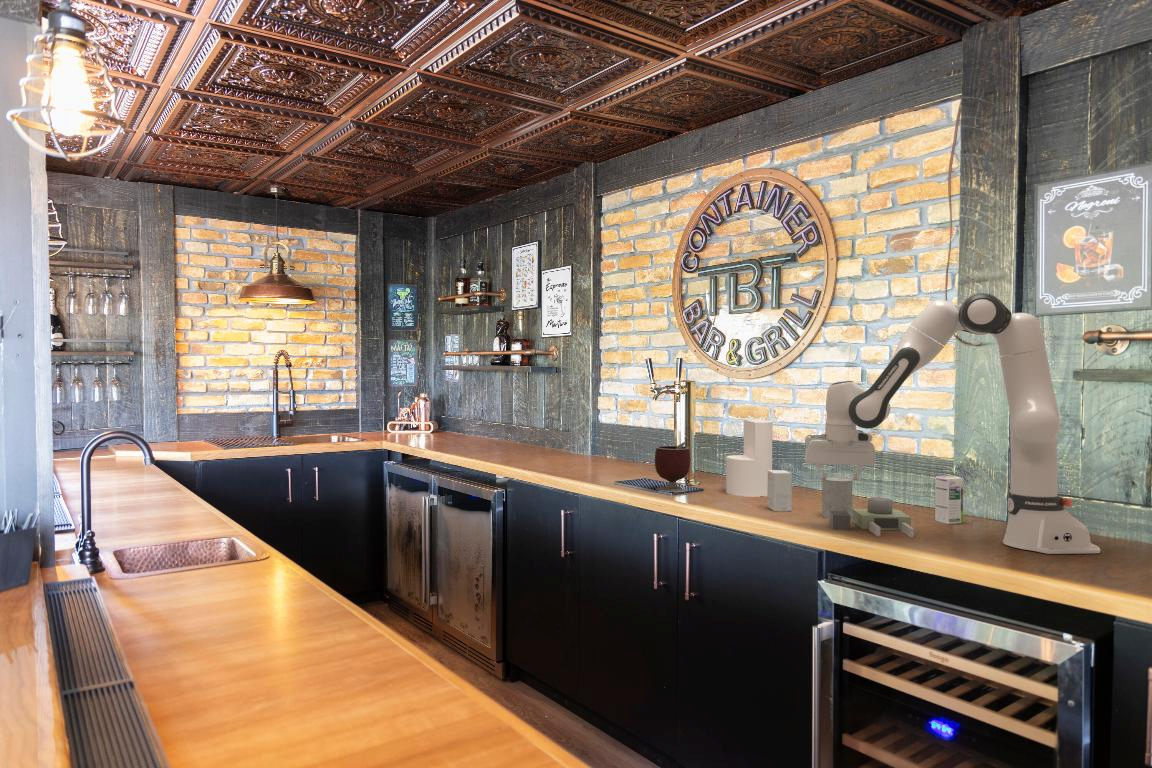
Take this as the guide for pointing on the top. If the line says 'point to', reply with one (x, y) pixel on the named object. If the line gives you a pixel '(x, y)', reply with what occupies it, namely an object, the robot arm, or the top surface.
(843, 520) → the dark grey box
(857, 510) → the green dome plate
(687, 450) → the mate gourd
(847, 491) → the grey concrete cylinder
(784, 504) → the small box
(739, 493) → the pale stepped column block
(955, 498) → the syrup box
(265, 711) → the top surface
